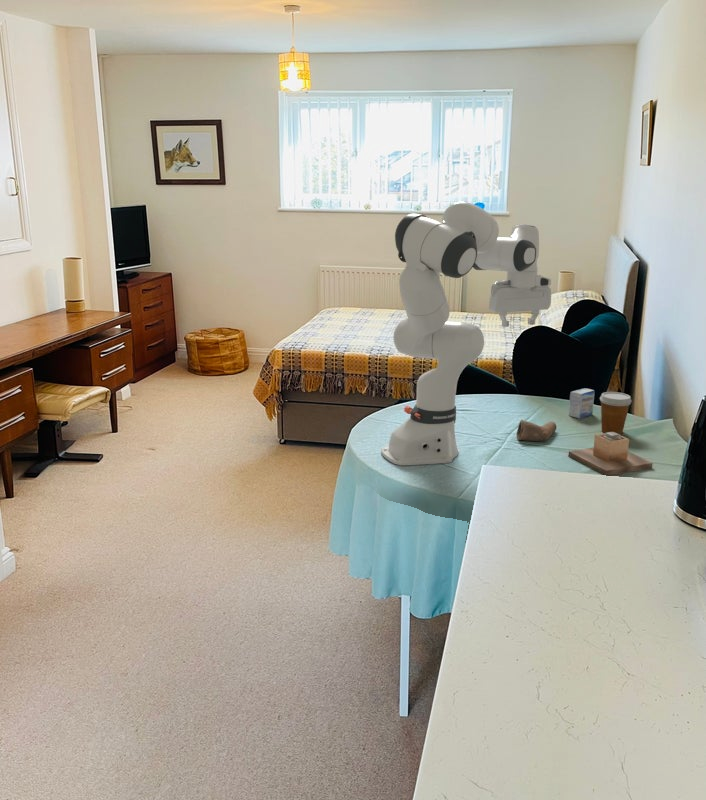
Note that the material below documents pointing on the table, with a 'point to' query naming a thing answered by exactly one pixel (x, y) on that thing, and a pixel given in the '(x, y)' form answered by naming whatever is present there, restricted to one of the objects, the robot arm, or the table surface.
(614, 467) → the wavy brown square sheet
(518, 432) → the pipe
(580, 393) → the medicine box
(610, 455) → the tan hollow cube
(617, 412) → the disposable coffee cup
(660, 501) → the table surface
